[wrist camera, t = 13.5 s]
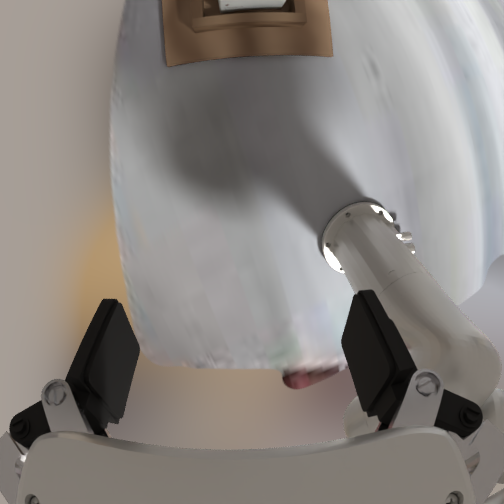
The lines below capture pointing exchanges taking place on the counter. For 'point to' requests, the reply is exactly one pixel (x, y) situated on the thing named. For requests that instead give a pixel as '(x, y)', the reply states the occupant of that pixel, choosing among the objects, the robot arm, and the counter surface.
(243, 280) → the counter surface
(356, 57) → the counter surface
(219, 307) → the counter surface
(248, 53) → the walnut holder
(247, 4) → the supplement box
